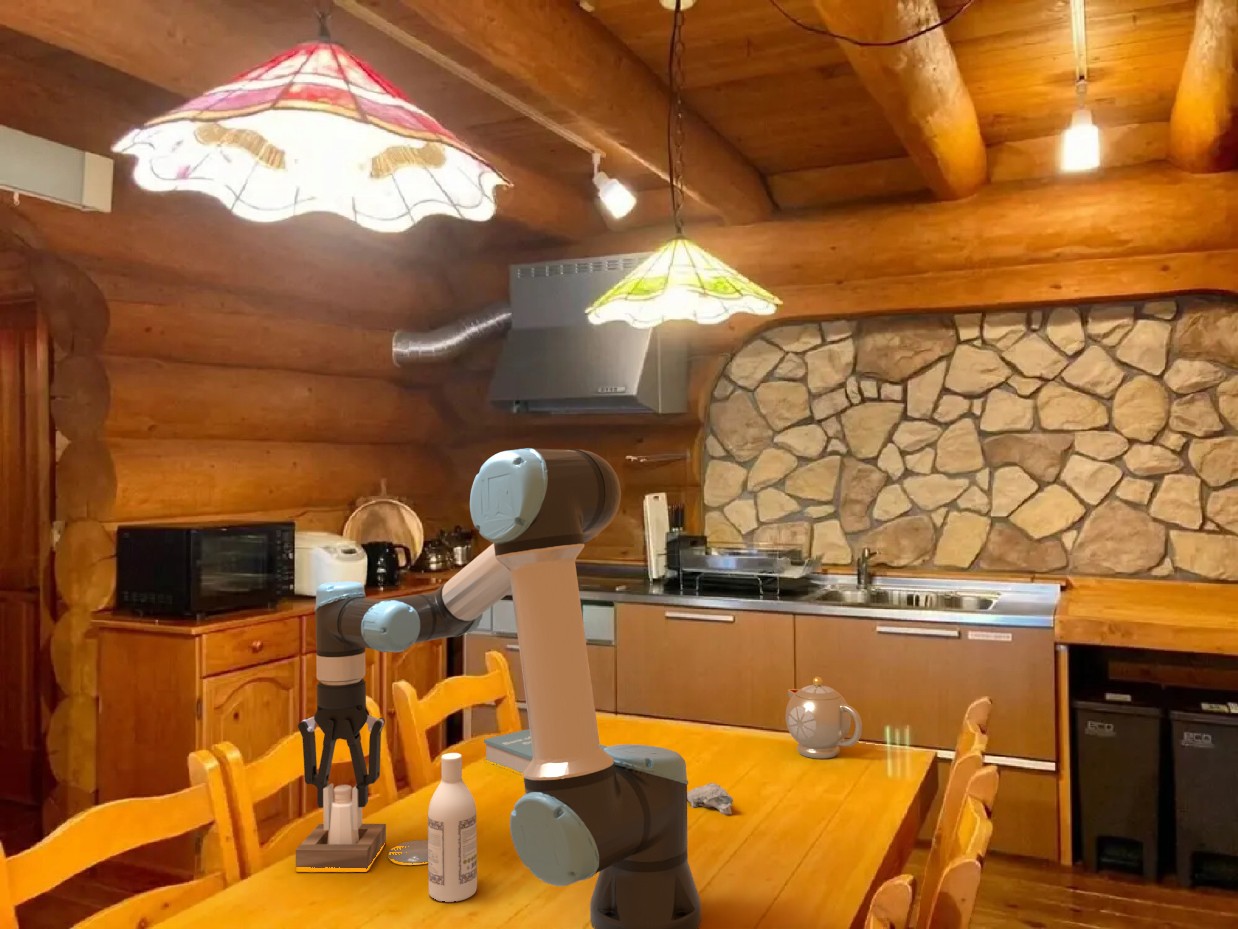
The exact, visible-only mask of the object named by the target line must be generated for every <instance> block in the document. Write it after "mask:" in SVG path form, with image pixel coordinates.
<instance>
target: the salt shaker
mask: <svg viewBox="0 0 1238 929" xmlns="http://www.w3.org/2000/svg"><path fill="white" fill-rule="evenodd" d="M352 789H353V787H352V786H351V785H349V784H339V785H337V786H335V787H333V801H334V802H333V803H331V811H330V829H329V831H328V843H327V844H357V843H358V842H359V835H358V830H353V809H352Z"/></svg>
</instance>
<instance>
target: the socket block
mask: <svg viewBox="0 0 1238 929" xmlns="http://www.w3.org/2000/svg"><path fill="white" fill-rule="evenodd" d="M328 831H329V830H324V823H318V824H317V826H316V827H315V828H314V829H313V830H312V831H311V832H310V833H309V834H308V835H307V837H306V838H305V839H304V840H303V841H302V842H301V844H299V846H298V847H297V848H296V849H295V868H296V867H311V868H312V867H313V868H314V867H315V868H325V867H328V868H329V867H330V868H331V867H333V868H334V867H335V868H339V867H340V868H366V869H367V868H368V866H369V865H370V864H371V863H372V861H373V859H374V858H375V857H376V855H377V853H378V852H379V851H380V849H381V847H382V846H383V845H384V843H385V841H386V842H387V824H386V823H362V825H361V826H360V828H359V829H358V835H359V842H358V843H357V844H327V843H328Z"/></svg>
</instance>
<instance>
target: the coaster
mask: <svg viewBox="0 0 1238 929" xmlns="http://www.w3.org/2000/svg"><path fill="white" fill-rule="evenodd" d="M395 846H404V847H403V848H402V847H401V850H400V849H399V848H398V850H397V848H395V850H396V851H395V850H394V849H393V850H391V848H390V849H389V850H390V851H389V850H388V852H402V854H401V853H399V854H400V855H399V854H398V853H396V854H397V855H395V853H394V855H393V854H392V853H391V855H388V854H389V853H388V852H387V857H388V856H389V858H390V859H394V860H395V861H398V862H403V863H412V864H413V863H423V862H424V863H425V862H428V839H427V840H425V839H421V840H419V839H417V840H410V841H405V842H402V843H399V844H396V845H395ZM405 846H406V848H405ZM408 846H409V847H408ZM406 852H407V853H406Z"/></svg>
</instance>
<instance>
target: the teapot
mask: <svg viewBox="0 0 1238 929" xmlns="http://www.w3.org/2000/svg"><path fill="white" fill-rule="evenodd" d="M823 682H824V681H823V678H822V677H820V676H814V677H813V679H812V683H813V684H810V685H806V686H804V687H802V688H799V689H796V688H792V689H791V688H789V689H787V694H788V697H789V701H788V702H787V704H786V705H787V706H786V709H785V723H786V727H787V730H788V732H789V733H790V736H791V737H792V738H793V739H794V740H795V741H796V742H797V744H798V745H797V747H796V749H797V752H798V753H799V754H800V755H802V756H803V757H807V758H810V759H818V760H819V759H820V760H823V759H831V758H835V757H837V756H838V755H839V754H840V752H841V750H840V749H841V748H840V747H842V748H850V747H853V746H855V745H856V744H857V743H858V742H859V740H860V738H861V737H862V733H863V722H862V717H861V716H860V714H859V712H858V711H857V709H856V708H854V707H853V706H851V705H849V704H848V702H847V701H846V699H845V698H844V696H842V695H841V693H840V692H838V691H837V690H835V689H834V688H832V687H830V686H827V685H823ZM852 718H853V720H854V726H855V727H854V733H853V734H852V736H851V737H850V738H847V739H846V737H847V735H849V734H848V733H849V731H850V727H851V722H852Z"/></svg>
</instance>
